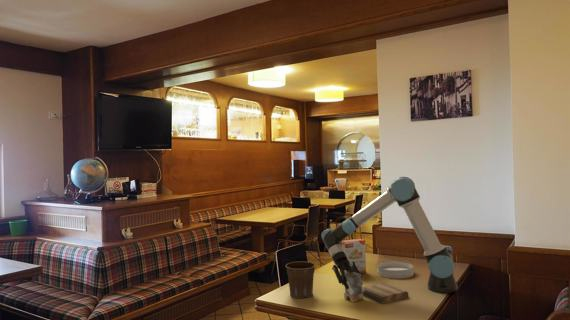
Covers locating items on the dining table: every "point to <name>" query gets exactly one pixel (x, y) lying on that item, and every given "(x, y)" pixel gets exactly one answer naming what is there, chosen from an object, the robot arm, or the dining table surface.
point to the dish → (395, 269)
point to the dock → (384, 293)
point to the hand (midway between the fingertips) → (357, 292)
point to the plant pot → (300, 278)
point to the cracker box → (355, 253)
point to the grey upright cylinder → (354, 286)
